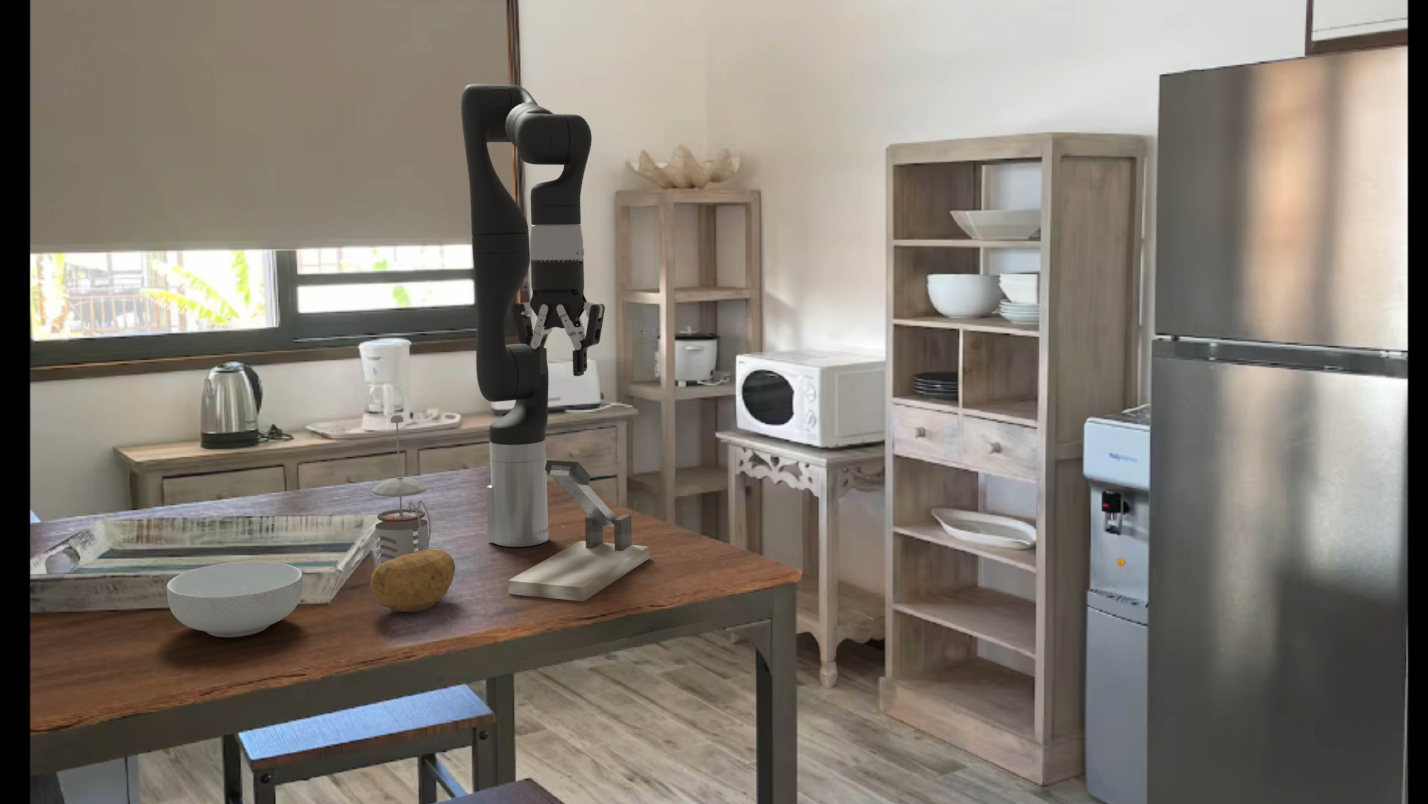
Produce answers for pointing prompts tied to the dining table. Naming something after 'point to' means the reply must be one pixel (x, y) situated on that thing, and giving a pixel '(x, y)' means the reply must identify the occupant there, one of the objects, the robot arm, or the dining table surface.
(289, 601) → the cereal bowl
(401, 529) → the french press
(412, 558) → the potato
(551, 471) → the lever
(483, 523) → the dining table surface
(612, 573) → the press base
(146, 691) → the dining table surface
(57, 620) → the dining table surface
